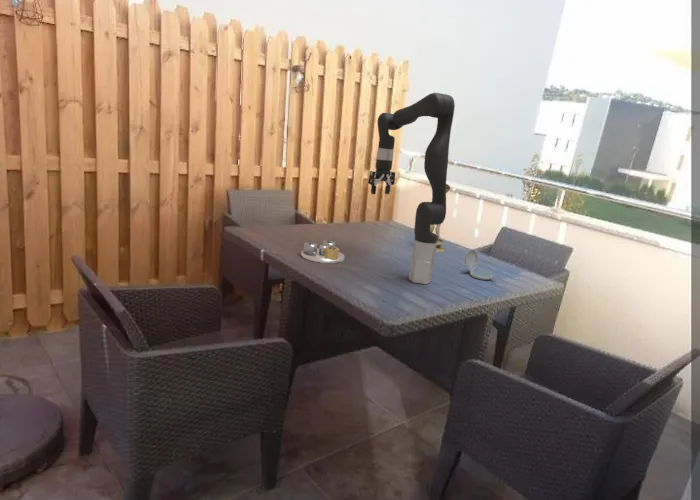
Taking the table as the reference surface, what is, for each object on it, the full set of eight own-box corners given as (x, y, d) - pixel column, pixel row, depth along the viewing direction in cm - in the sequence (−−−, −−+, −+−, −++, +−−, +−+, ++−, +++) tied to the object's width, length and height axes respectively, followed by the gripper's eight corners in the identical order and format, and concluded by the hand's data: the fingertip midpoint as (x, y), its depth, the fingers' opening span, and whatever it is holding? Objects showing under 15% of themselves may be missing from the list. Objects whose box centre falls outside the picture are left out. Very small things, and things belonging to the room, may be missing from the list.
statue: (443, 254, 246) (454, 187, 237) (410, 248, 251) (420, 182, 242) (447, 247, 262) (457, 184, 253) (416, 241, 267) (426, 179, 257)
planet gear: (336, 260, 208) (337, 250, 207) (323, 258, 209) (324, 249, 208) (338, 257, 214) (339, 247, 213) (325, 255, 215) (326, 245, 213)
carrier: (341, 265, 206) (342, 251, 204) (296, 259, 207) (297, 245, 206) (346, 254, 225) (348, 241, 223) (305, 248, 227) (306, 235, 225)
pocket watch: (477, 248, 219) (505, 257, 208) (472, 270, 221) (500, 280, 211) (464, 250, 212) (493, 259, 201) (460, 273, 215) (488, 283, 204)
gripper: (390, 158, 222) (385, 192, 226) (367, 157, 213) (363, 192, 217) (401, 160, 216) (396, 195, 221) (378, 159, 208) (373, 195, 212)
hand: (380, 193), depth 219 cm, fingers open, 8 cm apart
